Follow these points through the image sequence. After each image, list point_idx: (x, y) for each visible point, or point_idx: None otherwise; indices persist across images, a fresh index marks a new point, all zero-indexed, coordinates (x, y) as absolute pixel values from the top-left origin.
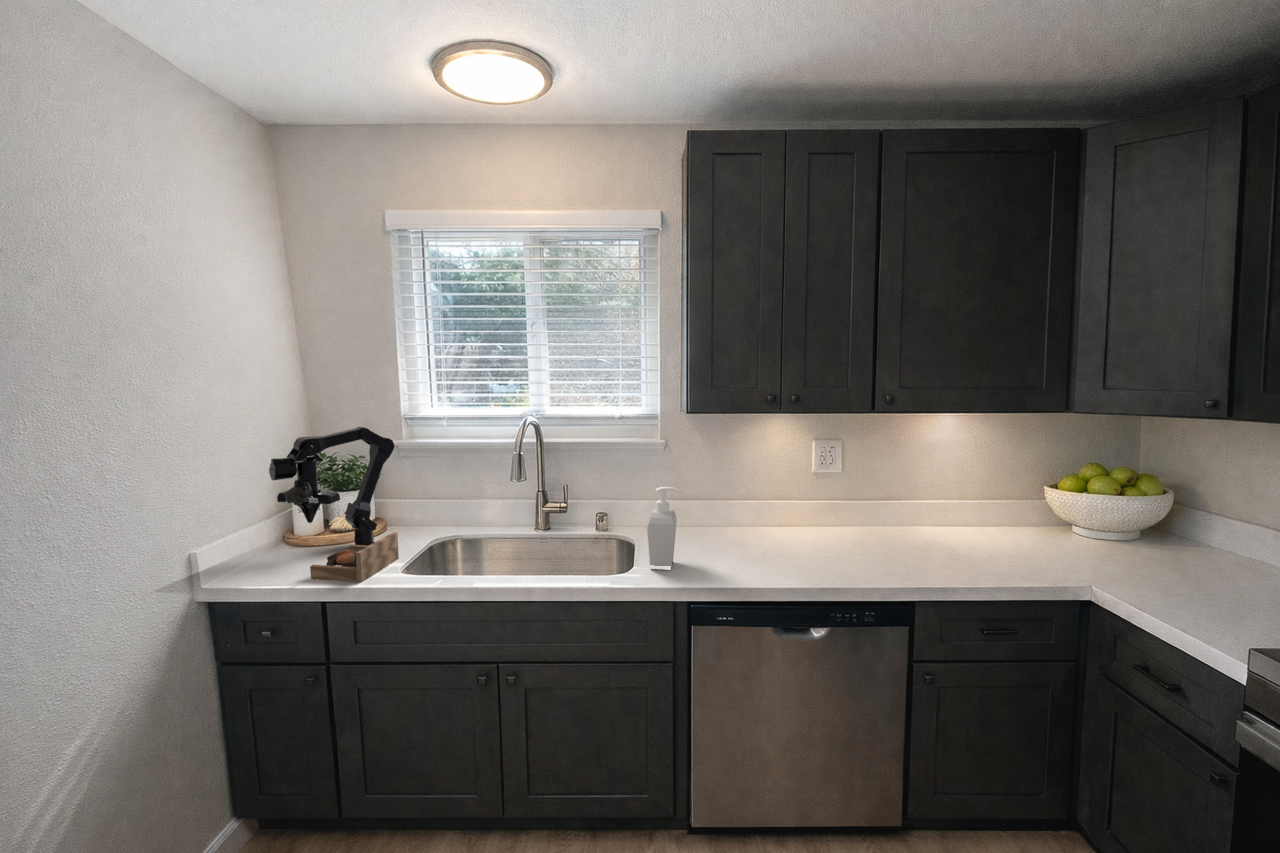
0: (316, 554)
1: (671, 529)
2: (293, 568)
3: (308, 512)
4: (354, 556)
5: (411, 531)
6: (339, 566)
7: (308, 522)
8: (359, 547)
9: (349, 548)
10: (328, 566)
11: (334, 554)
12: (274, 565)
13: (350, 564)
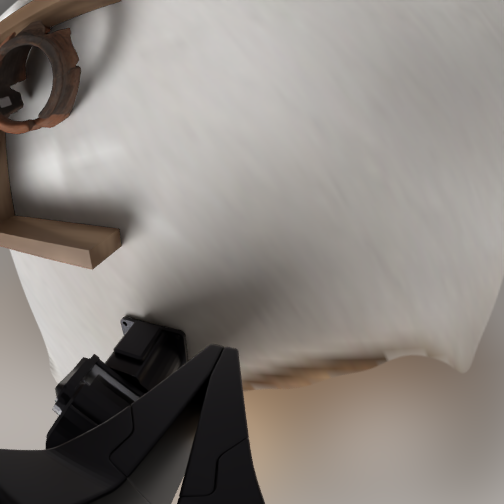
0: (284, 269)
1: None
2: (277, 64)
3: (151, 430)
4: None
5: None
6: (11, 24)
7: (229, 347)
8: (56, 242)
9: (93, 244)
10: (36, 5)
11: (4, 43)
12: (405, 108)
13: (2, 64)
